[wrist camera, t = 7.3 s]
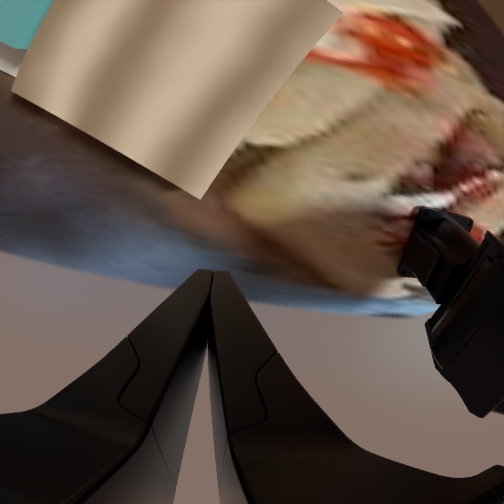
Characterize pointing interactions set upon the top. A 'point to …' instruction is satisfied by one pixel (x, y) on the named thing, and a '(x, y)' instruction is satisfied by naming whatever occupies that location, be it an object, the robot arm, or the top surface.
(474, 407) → the robot arm
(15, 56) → the mat
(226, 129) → the plate
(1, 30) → the teal flat block
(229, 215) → the top surface
